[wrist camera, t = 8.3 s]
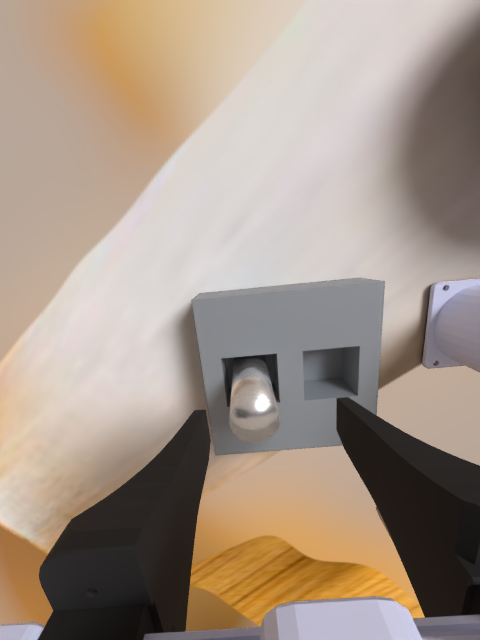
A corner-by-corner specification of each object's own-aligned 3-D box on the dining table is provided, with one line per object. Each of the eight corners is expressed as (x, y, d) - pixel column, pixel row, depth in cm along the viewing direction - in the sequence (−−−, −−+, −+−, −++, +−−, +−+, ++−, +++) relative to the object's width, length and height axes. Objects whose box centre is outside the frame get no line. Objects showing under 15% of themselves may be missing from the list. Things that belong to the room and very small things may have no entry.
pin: (265, 347, 21) (280, 398, 13) (265, 377, 21) (279, 442, 14) (233, 348, 21) (228, 399, 13) (233, 377, 21) (230, 442, 14)
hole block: (359, 277, 20) (384, 281, 16) (354, 416, 23) (374, 442, 20) (199, 293, 20) (191, 300, 17) (218, 427, 24) (215, 455, 20)
